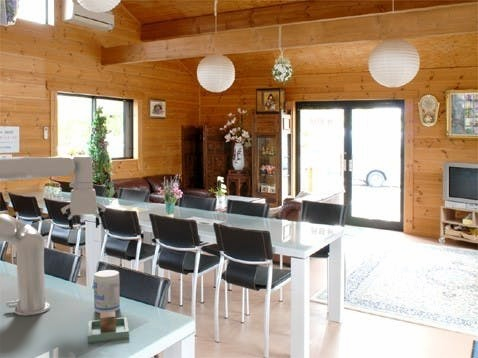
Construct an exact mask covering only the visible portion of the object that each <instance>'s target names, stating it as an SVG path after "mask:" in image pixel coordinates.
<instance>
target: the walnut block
mask: <svg viewBox="0 0 478 358" xmlns="http://www.w3.org/2000/svg"><path fill="white" fill-rule="evenodd" d="M99 317H100V318H99V320H100V329H101V333H106V332H115V331H116V318H117V316H116V311H113V312H103V313H99Z"/></svg>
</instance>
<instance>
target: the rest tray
mask: <svg viewBox="0 0 478 358" xmlns="http://www.w3.org/2000/svg"><path fill="white" fill-rule="evenodd" d="M87 326H88V329H87V344H95V343H103V342H113V341H120V339H122V340H127V339H126V338H129V339H130V332H129V331H130V330H129V323H128V318H127V317H126V316H124V317H116V331H115V332H106V333H101V329H100V319H95V320H88V325H87Z"/></svg>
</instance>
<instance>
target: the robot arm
mask: <svg viewBox="0 0 478 358" xmlns="http://www.w3.org/2000/svg"><path fill="white" fill-rule="evenodd" d="M69 175H72V182H71V183H69V188H73V189H71V191H70V198H69V199H70V203H69V204H67V205H66V206H64V207H62V208H61V209H60V211H61V213H62V215H64V217H66V219H68V228H70V230H73V229H74V221H73V220H74V219H73V217H74V216H83V215H84V216H86V215H87V216H88V215H93V216H95V229H98V228H99V227H98V226H100V218H101V217H102V216H103V215H104V213H105V211H106V210H107V206H105V205H103V204H101V203H99V202H98V201H97V194H96V193H97V192H96V189H95V188H94V178H93V158H92V156H90V155H75V156H73V155H72V156H71V155H61V154H60V155H56V156H49V157H48V156H47V157H46V156H45V157H44V156H43V157H35V156H32V157H31V156H12V157H11V156H10V157H0V182H3V181H15V180H29V179H31V180H32V179H37V178H38V179H40V178H52V177H55V178H56V177H67V176H69ZM98 208H99V209H101V210H100V212H98ZM68 209H69V210H70V214H69V213H68V212H67V211H66V210H68ZM0 242H6V243H8V244H11V245H12V246H15V248H16V272H17V290H18V291H17V292H18V299H16V300H9V301H6V304H5V305H6V307H8V308H9V309H10V308H14V314H16V315H18V316H22V317H23V316H34V315H39V314H43V313H45V312H47V311H48V310H50V308H51V305H50V303H49V302H47V301H46V288H45V287H46V285H45V283H46V282H45V241H44V237H43V235H42V234H41V233H40V232H39V231H38V230H37V229H36V227H33V226H32V225H30V224H28V223H25V222H23V221H21V220H20V219H17V218H15V217H14V216H12V215H9V214H7V213H0Z"/></svg>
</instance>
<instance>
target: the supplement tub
mask: <svg viewBox="0 0 478 358" xmlns="http://www.w3.org/2000/svg"><path fill="white" fill-rule="evenodd" d="M93 298H94V299H93V302H94V303H93V306H94V309H93V310H94V311H95V312H96V313H98V314H100V313H103V312H113V311H115V312H118V311H119V309H120V305H121V304H120V301H121V300H120V299H121V298H120V272H119V270H114V269H105V270H99V271H97V272H94V274H93Z"/></svg>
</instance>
